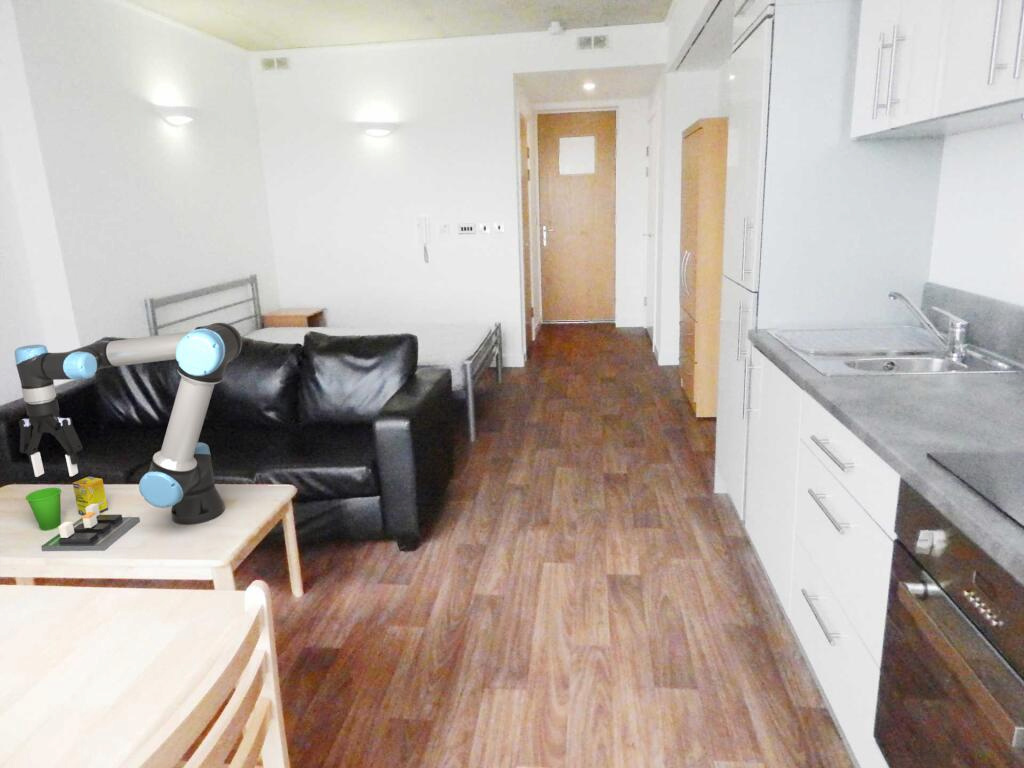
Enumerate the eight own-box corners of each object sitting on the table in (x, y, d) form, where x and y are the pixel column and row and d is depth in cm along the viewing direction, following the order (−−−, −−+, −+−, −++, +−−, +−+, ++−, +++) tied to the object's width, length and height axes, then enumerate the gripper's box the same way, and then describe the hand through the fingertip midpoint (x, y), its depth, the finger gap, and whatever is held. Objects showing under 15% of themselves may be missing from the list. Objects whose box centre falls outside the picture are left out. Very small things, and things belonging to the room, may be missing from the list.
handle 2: (100, 514, 206) (97, 503, 205) (93, 518, 203) (91, 508, 202) (93, 514, 206) (91, 503, 205) (87, 518, 203) (85, 508, 203)
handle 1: (74, 532, 195) (72, 521, 194) (67, 537, 192) (65, 526, 191) (67, 532, 195) (65, 521, 194) (60, 537, 192) (58, 526, 191)
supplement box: (78, 514, 214) (71, 482, 211) (95, 507, 219) (89, 475, 217) (91, 517, 212) (84, 485, 209) (108, 509, 217) (102, 478, 214)
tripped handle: (97, 523, 200) (95, 512, 199) (91, 527, 197) (88, 516, 197) (90, 523, 200) (88, 512, 200) (84, 527, 198) (82, 516, 197)
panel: (139, 521, 208) (138, 512, 207) (104, 550, 191) (102, 540, 190) (82, 522, 209) (80, 513, 208) (42, 551, 191) (40, 541, 191)
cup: (50, 534, 201) (43, 500, 198) (25, 532, 203) (17, 499, 200) (75, 521, 209) (68, 488, 207) (50, 519, 211) (43, 486, 208)
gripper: (88, 395, 192) (102, 469, 198) (12, 397, 193) (28, 470, 199) (70, 403, 185) (86, 479, 191) (-8, 404, 186) (10, 480, 192)
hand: (56, 474), depth 195 cm, fingers open, 9 cm apart
